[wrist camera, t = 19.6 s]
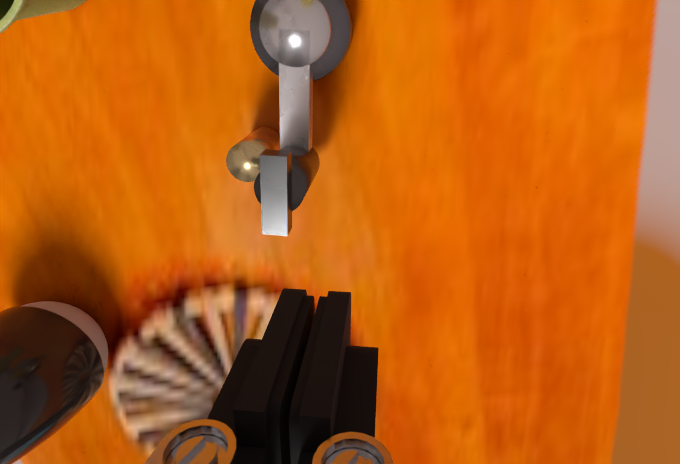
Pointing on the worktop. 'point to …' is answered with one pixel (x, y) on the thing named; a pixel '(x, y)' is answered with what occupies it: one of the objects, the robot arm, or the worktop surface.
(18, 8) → the plant pot
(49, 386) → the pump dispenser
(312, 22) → the crank handle
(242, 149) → the crank base
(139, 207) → the worktop surface
